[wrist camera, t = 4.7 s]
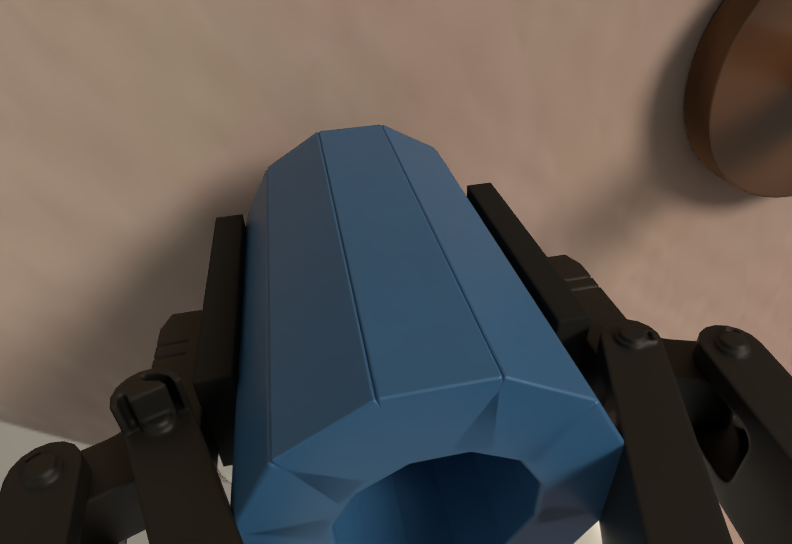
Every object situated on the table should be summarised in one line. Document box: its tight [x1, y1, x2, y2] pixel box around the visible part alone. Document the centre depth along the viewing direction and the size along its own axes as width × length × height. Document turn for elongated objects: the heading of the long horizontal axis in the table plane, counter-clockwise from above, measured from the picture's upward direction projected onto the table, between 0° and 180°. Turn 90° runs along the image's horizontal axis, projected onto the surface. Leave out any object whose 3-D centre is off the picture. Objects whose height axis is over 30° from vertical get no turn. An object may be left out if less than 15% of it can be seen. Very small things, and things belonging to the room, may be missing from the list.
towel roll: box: [230, 125, 624, 544], centre depth 13 cm, size 7×7×10 cm
